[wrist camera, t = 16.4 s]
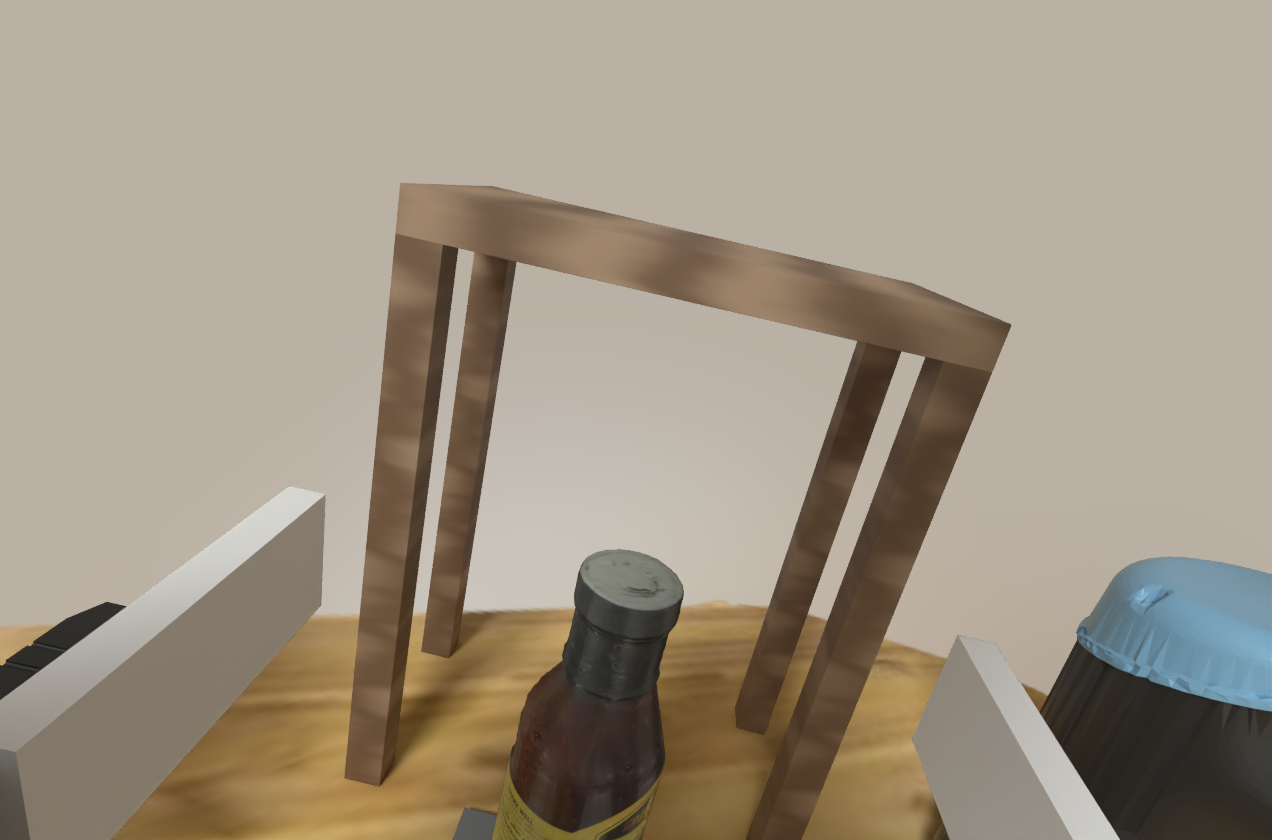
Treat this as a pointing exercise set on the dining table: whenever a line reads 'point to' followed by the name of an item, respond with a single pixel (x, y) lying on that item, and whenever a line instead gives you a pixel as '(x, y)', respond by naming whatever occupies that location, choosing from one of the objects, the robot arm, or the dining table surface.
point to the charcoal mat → (475, 825)
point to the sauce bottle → (596, 711)
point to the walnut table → (699, 274)
